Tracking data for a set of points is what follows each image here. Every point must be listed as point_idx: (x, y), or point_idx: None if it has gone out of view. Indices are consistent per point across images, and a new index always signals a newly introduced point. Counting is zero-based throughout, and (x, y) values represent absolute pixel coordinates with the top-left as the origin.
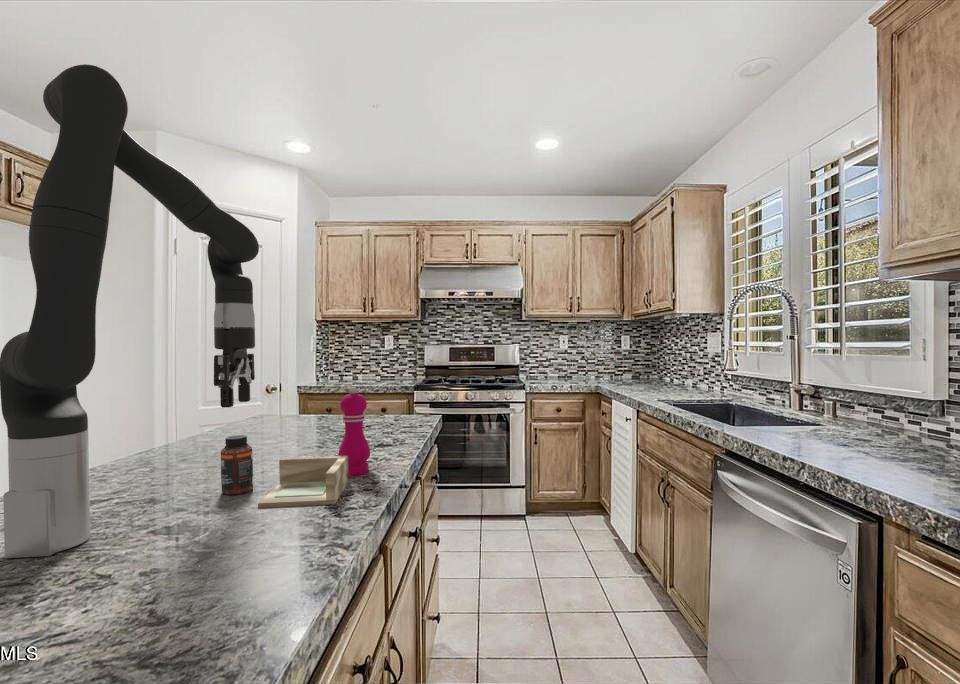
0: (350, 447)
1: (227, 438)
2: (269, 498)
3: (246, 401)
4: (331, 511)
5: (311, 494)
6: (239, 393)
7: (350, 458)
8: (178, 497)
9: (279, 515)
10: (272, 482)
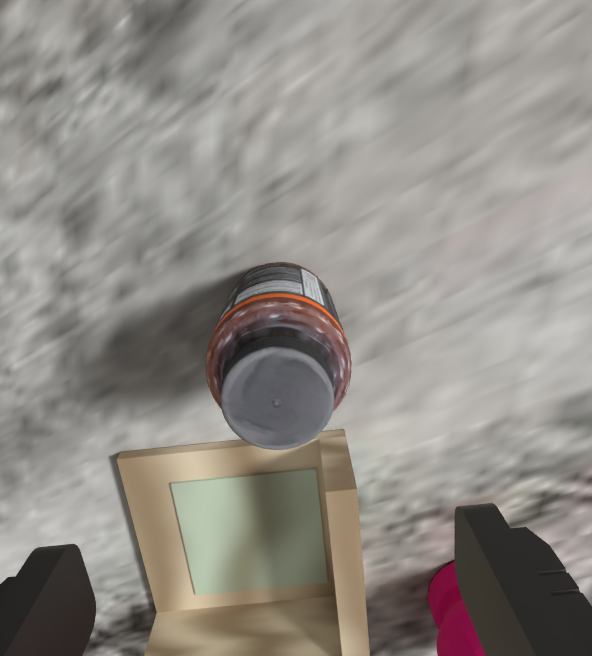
0: None
1: (232, 376)
2: (161, 472)
3: (456, 562)
4: (111, 626)
5: (192, 571)
6: (493, 577)
7: (437, 646)
8: (208, 116)
9: (69, 527)
10: (381, 383)
